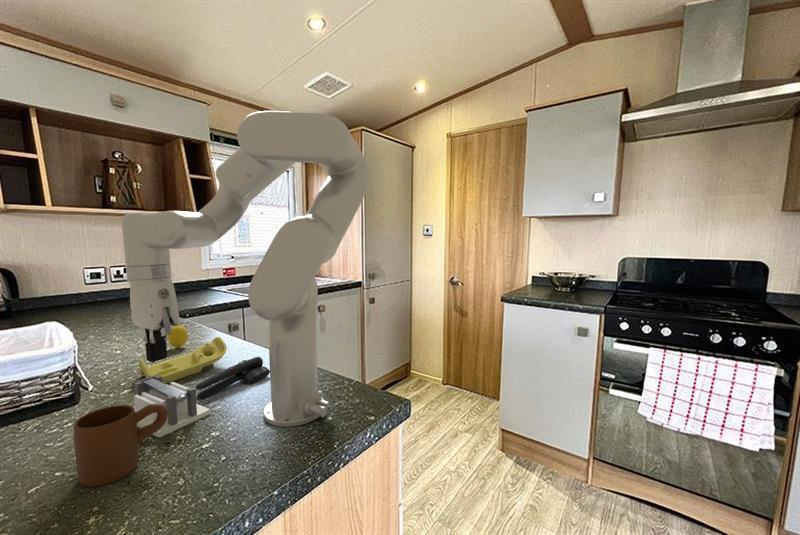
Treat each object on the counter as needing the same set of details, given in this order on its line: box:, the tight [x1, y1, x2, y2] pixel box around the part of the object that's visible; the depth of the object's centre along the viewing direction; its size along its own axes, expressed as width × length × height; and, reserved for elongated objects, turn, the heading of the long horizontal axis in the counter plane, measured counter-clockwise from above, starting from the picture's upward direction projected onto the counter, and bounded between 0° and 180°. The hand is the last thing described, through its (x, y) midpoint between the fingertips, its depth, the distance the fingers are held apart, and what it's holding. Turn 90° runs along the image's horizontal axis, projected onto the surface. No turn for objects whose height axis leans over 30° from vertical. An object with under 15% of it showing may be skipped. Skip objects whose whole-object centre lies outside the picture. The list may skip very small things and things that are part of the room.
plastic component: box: [138, 336, 228, 384], centre depth 97 cm, size 20×7×10 cm
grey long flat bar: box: [143, 378, 190, 403], centre depth 72 cm, size 14×3×1 cm, turn 60°
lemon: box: [167, 324, 189, 349], centre depth 116 cm, size 6×6×8 cm
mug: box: [73, 404, 168, 488], centre depth 57 cm, size 12×8×9 cm, turn 133°
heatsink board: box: [132, 375, 211, 439], centre depth 73 cm, size 15×10×6 cm, turn 60°
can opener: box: [195, 356, 270, 399], centre depth 87 cm, size 18×7×6 cm, turn 144°
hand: (157, 359), depth 74 cm, fingers closed
